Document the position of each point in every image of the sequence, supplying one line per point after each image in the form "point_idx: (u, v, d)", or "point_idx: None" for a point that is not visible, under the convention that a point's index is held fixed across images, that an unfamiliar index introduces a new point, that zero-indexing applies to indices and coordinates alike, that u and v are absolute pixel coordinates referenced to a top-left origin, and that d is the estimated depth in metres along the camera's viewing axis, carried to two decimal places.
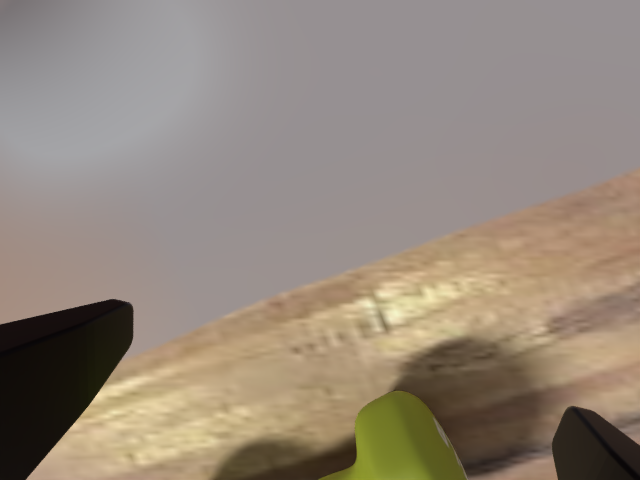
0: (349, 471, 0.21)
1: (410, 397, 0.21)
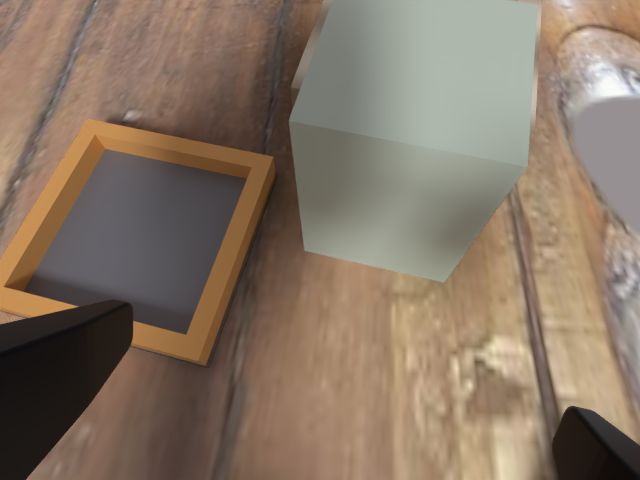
0: None
1: None
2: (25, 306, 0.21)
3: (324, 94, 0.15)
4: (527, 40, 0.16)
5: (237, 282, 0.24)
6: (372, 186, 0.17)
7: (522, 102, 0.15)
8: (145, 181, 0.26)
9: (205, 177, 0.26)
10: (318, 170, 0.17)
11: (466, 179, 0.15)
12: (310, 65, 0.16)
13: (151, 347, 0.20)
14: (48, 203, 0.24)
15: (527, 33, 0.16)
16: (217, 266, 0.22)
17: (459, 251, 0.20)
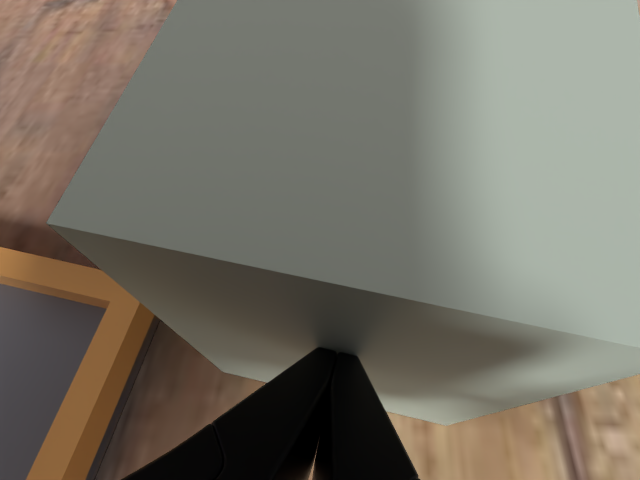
0: None
1: None
2: None
3: (153, 150, 0.06)
4: (622, 18, 0.07)
5: None
6: (296, 334, 0.08)
7: None
8: None
9: (46, 308, 0.16)
10: (178, 302, 0.08)
11: (505, 353, 0.06)
12: (134, 79, 0.07)
13: None
14: None
15: (619, 4, 0.08)
16: None
17: (476, 412, 0.11)
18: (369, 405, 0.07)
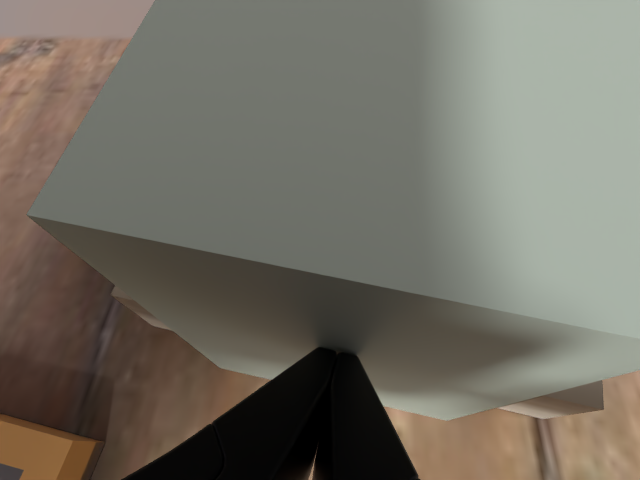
0: None
1: None
2: None
3: (139, 137, 0.06)
4: None
5: None
6: (291, 329, 0.08)
7: None
8: None
9: None
10: (169, 297, 0.08)
11: (508, 347, 0.06)
12: (120, 65, 0.07)
13: None
14: None
15: None
16: None
17: (477, 407, 0.11)
18: (369, 405, 0.07)
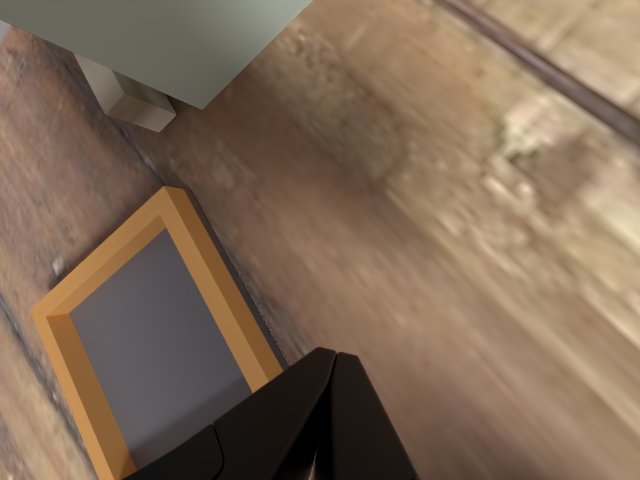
0: None
1: None
2: None
3: None
4: None
5: (254, 311, 0.21)
6: None
7: None
8: (115, 307, 0.24)
9: (146, 256, 0.23)
10: (63, 19, 0.15)
11: None
12: None
13: None
14: (76, 400, 0.23)
15: None
16: (221, 323, 0.20)
17: None
18: (369, 405, 0.07)
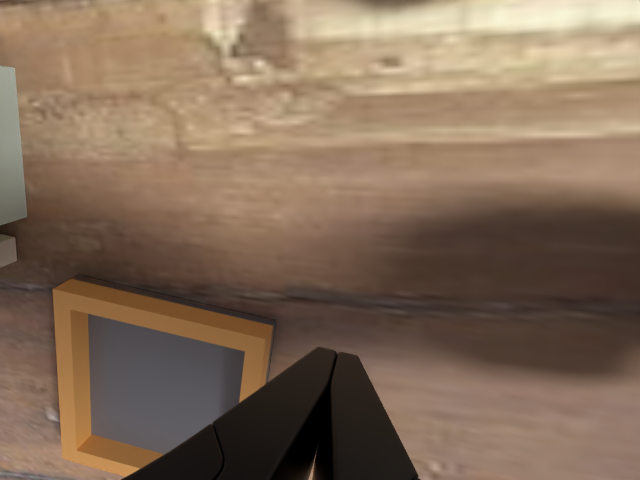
0: None
1: None
2: None
3: None
4: None
5: (195, 304, 0.24)
6: None
7: None
8: (114, 396, 0.27)
9: (96, 345, 0.26)
10: None
11: None
12: None
13: (260, 377, 0.23)
14: None
15: None
16: (178, 331, 0.23)
17: None
18: (369, 405, 0.07)
